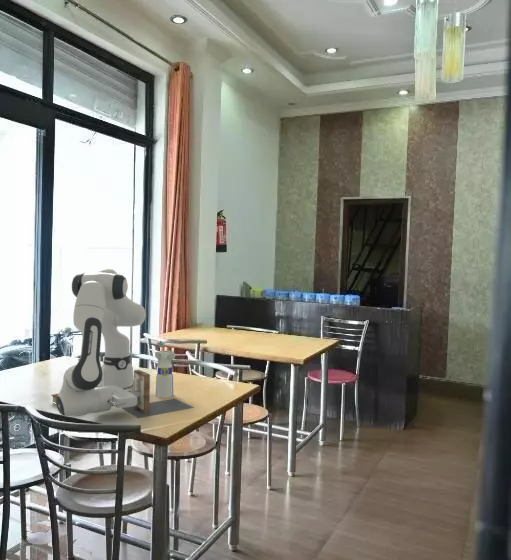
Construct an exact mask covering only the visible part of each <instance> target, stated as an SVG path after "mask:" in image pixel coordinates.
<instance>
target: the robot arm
mask: <svg viewBox="0 0 511 560" xmlns="http://www.w3.org/2000/svg"><path fill="white" fill-rule="evenodd" d="M128 289H129V287H128V280H127V278H126V277H125V276H124V274H119V273H117V271H116V270H114V269H113V268H110V267H107V268H105V267H104V268H102V269H99V270H98V271H97V272H89V273H86V272H82V273H77V274H76V275H75V276H74V277H73V279H72V282H71V293H72V294H73V295H74V297H76V298H75V299H76V300H75V303H74V309H73V325H74V327H75V328H76V329H77V330H78V331H79V332H80V333H81V337H82V342H81V351H80V357H79V358H80V360H79V359H78V362H77V363H76V364H74V365H71V367H68V369H66V371H65V372H64V374H63V381H62V385H61V388H60V389H59V393H57V394H58V395H57V397H56V405H55V406H56V408H57V411H58V412H59V414H60V415H61V416H64V417H76V416H78V417H79V416H84V415H87V414H89V413H101V412H105V411H106V412H107V411H110V410H111V409H112V407H115V408H118V409H122V408H126V407H134V406H136V405H137V397H139V396H140V392H138V391H137V390H135V391H134V390H126V388H131V387H132V386H134V368H133V365H131V359H132V358H131V355H130V345H131V342H130V338H129V337H128V336H127V335H125V334H123V333H121V332H120V331H119V329H118V327H120V328H121V327H123V328H124V327H125V328H126V327H131V328H132V327H136V326H141V325H143V324H144V322H145V320H146V318H147V317H146V316H147V314H146V309H145V308H144V306H143V304H139V303H136V302H135V301H133V300H132V299H130V298H129V297H128V296H127V292H128ZM102 337H103V339H104V341H103V342H104V353H105V354H104V357H103V361H102V362H103V364H102V365H101V359H100V357H101V356H100V355H101V343H102Z"/></svg>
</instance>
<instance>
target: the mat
mask: <svg viewBox="0 0 511 560" xmlns="http://www.w3.org/2000/svg"><path fill="white" fill-rule="evenodd" d="M193 408H195V407H194V406H193V405H190V404H188V403H185V402H184V401H181V400H180V399H179V400H178V399H177V398H170V399H164V400H159V401H153V402H150V410H149V414H143V413H141V412H140V411H138V410H136V409H134V407H126V408H121V410H124V411H125V412H127V413H128V414H130V415H132V416H134V417H135V418H137V419H143V418H147V417H151V416H157V415H158V416H159V415H163V414H169V413H172V412H173V413H174V412H178V411H184V410H188V409H193Z"/></svg>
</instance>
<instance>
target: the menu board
mask: <svg viewBox="0 0 511 560" xmlns="http://www.w3.org/2000/svg"><path fill="white" fill-rule="evenodd" d="M133 377H134V384H133V391H135V390H137V391H138V392H140V396H139V397H137V405H136V406H134V409H136V410H138V411H140V412H141V413H143V414H149V410H150V403H151V402H150V401H151V399H150V397H151V396H150V395H151V394H150V393H151V392H150V391H151V390H150V388H151V387H150V386H151V385H150V384H151V383H150V382H151V380H150V379H151V374H150V373H149V372H148V373H147V372H145V371H143V370H140V369H135V370H134V369H133Z"/></svg>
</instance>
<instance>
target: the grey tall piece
mask: <svg viewBox="0 0 511 560" xmlns="http://www.w3.org/2000/svg"><path fill="white" fill-rule="evenodd" d="M164 344H166V343H164V342H163V341H162V340H160V342H157V345H158V349H160V348H164ZM155 358H156V359H157V361H158V362H157V365H156V367H157V374H156V379H155V380H156V384H155V397H156V398H166V399H167V398H171V397H174V375H173V367H174V365H173V362H172V360H174V359H175V358H176V354H175V352H174V351H173V350H158V351H156V354H155Z"/></svg>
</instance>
